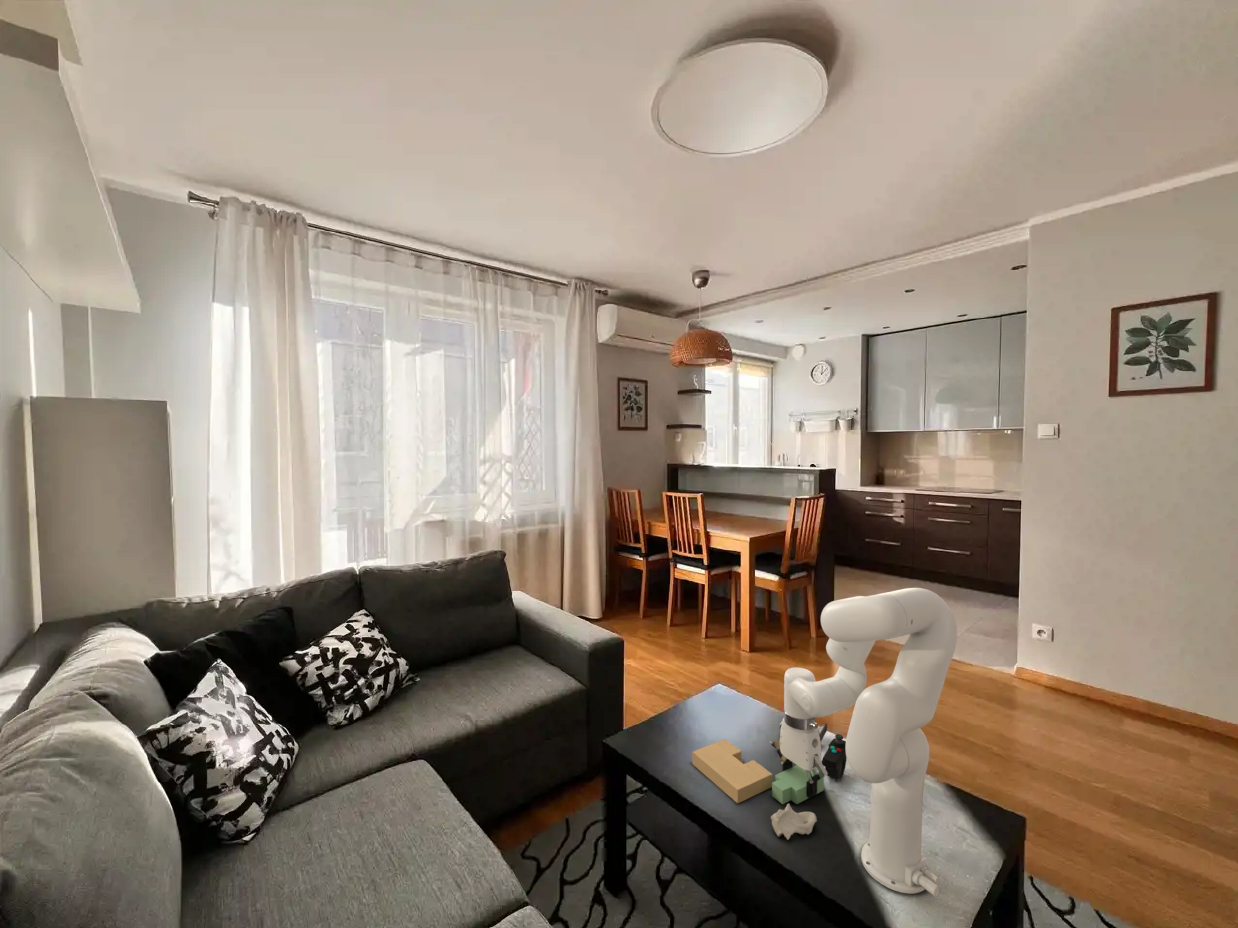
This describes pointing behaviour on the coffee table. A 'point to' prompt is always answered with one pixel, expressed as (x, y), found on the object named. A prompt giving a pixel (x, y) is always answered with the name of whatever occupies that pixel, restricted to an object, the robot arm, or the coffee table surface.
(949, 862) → the coffee table surface
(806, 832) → the coral
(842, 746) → the controller
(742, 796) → the sand pad
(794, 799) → the green pad
